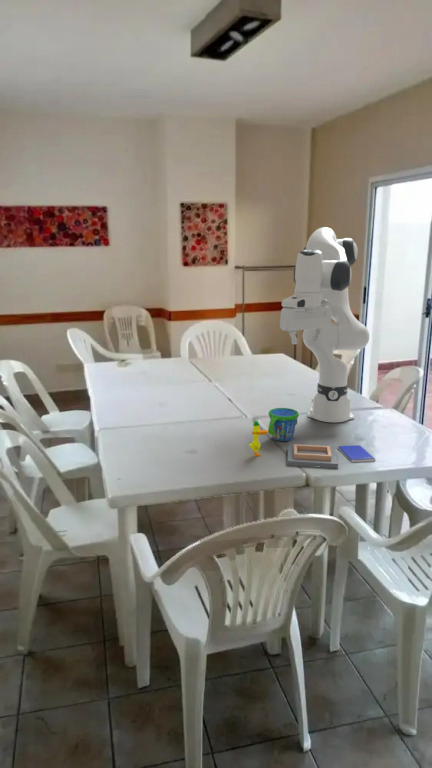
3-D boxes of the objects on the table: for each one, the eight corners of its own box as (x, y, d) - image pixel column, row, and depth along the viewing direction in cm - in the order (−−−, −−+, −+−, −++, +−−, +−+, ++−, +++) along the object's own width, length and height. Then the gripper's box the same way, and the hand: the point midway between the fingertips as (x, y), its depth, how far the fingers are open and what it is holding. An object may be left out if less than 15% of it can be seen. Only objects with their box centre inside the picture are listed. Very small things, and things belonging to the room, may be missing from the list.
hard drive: (375, 458, 186) (360, 444, 198) (351, 459, 185) (338, 445, 196) (374, 462, 186) (360, 449, 198) (351, 463, 185) (337, 450, 197)
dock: (287, 449, 195) (288, 441, 194) (334, 452, 193) (335, 444, 192) (287, 465, 182) (287, 456, 181) (337, 468, 180) (338, 459, 179)
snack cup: (279, 447, 197) (280, 419, 195) (257, 439, 205) (258, 412, 202) (307, 437, 207) (308, 410, 205) (285, 430, 215) (286, 404, 212)
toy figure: (266, 453, 192) (267, 419, 189) (268, 457, 188) (269, 422, 185) (246, 453, 191) (247, 420, 188) (248, 457, 188) (249, 423, 185)
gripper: (323, 299, 192) (321, 339, 195) (277, 301, 180) (276, 344, 183) (337, 300, 187) (334, 341, 190) (291, 302, 175) (289, 346, 178)
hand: (305, 342), depth 186 cm, fingers open, 8 cm apart
